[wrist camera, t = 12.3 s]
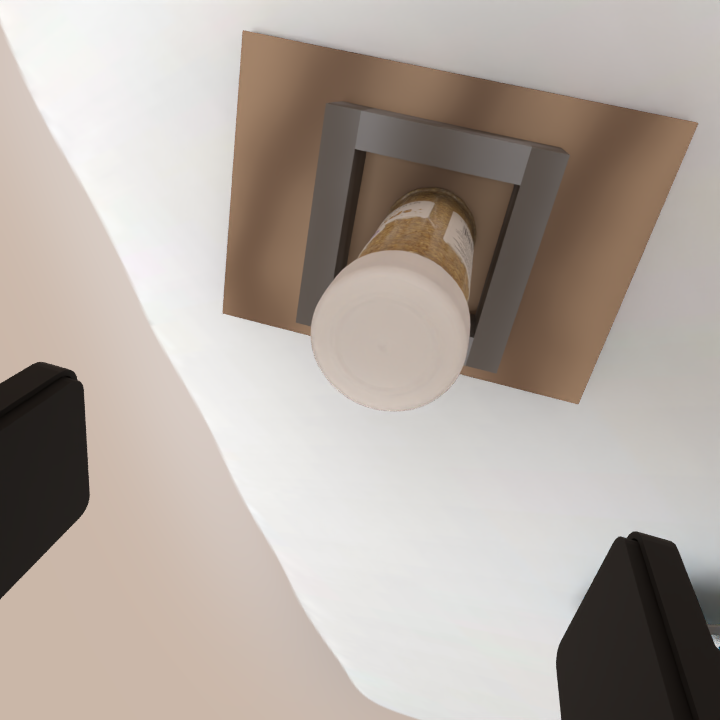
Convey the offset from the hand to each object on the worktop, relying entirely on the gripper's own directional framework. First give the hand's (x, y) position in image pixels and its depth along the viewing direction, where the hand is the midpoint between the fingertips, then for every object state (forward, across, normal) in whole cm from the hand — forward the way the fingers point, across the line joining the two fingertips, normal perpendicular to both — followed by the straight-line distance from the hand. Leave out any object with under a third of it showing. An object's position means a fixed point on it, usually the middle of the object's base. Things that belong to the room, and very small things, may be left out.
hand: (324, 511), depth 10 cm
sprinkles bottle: (+20, 0, 0) cm, 21 cm away
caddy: (+22, +1, 0) cm, 22 cm away
